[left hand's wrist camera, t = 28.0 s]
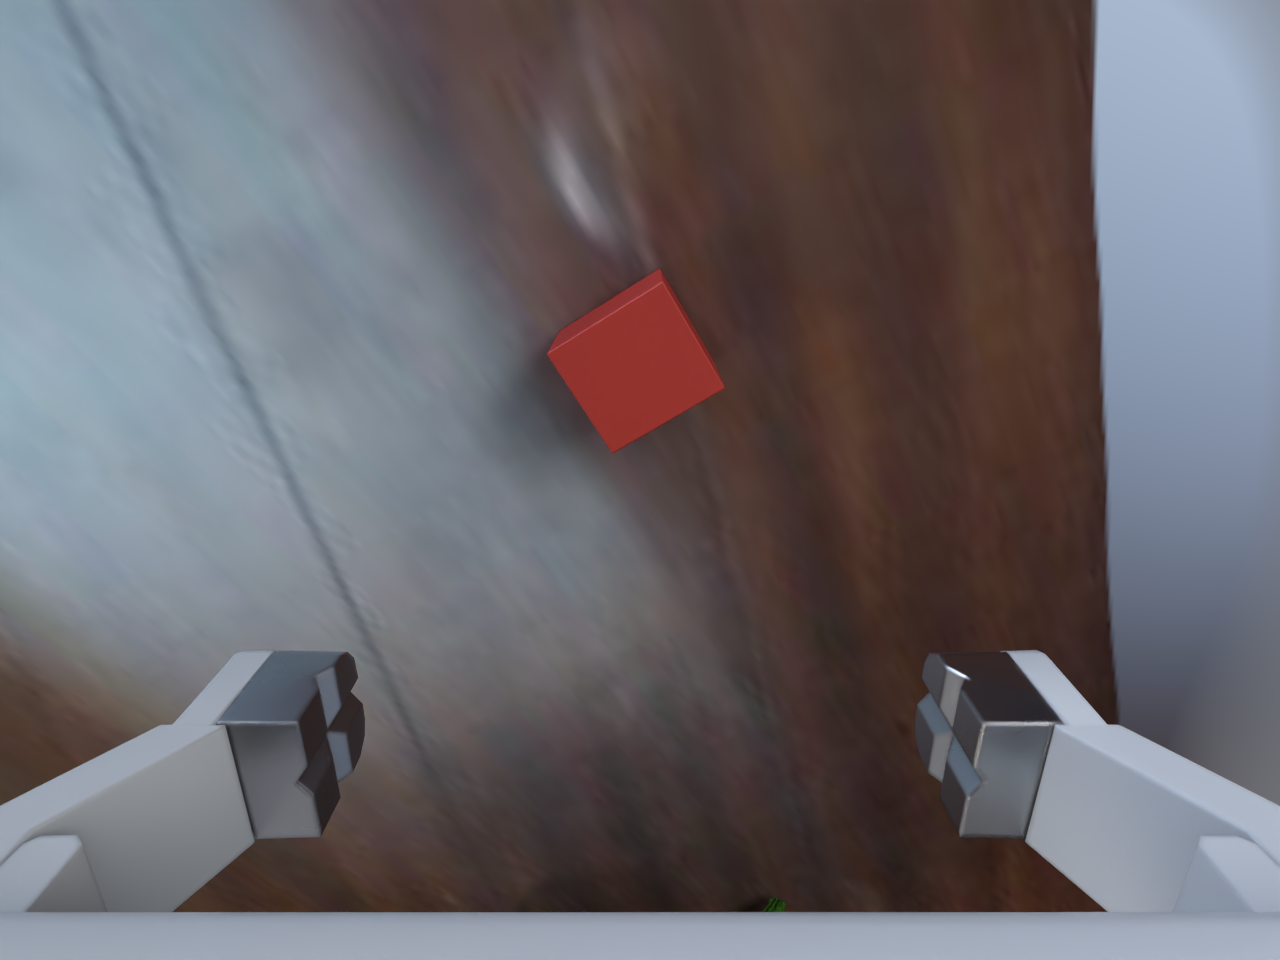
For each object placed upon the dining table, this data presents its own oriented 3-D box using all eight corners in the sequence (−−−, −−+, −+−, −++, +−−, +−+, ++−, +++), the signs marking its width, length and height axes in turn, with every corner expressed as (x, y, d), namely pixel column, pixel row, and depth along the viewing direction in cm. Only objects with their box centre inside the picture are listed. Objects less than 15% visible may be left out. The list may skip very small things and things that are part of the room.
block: (615, 420, 32) (612, 454, 28) (558, 331, 31) (545, 353, 27) (714, 362, 31) (725, 388, 27) (659, 268, 30) (663, 280, 26)
